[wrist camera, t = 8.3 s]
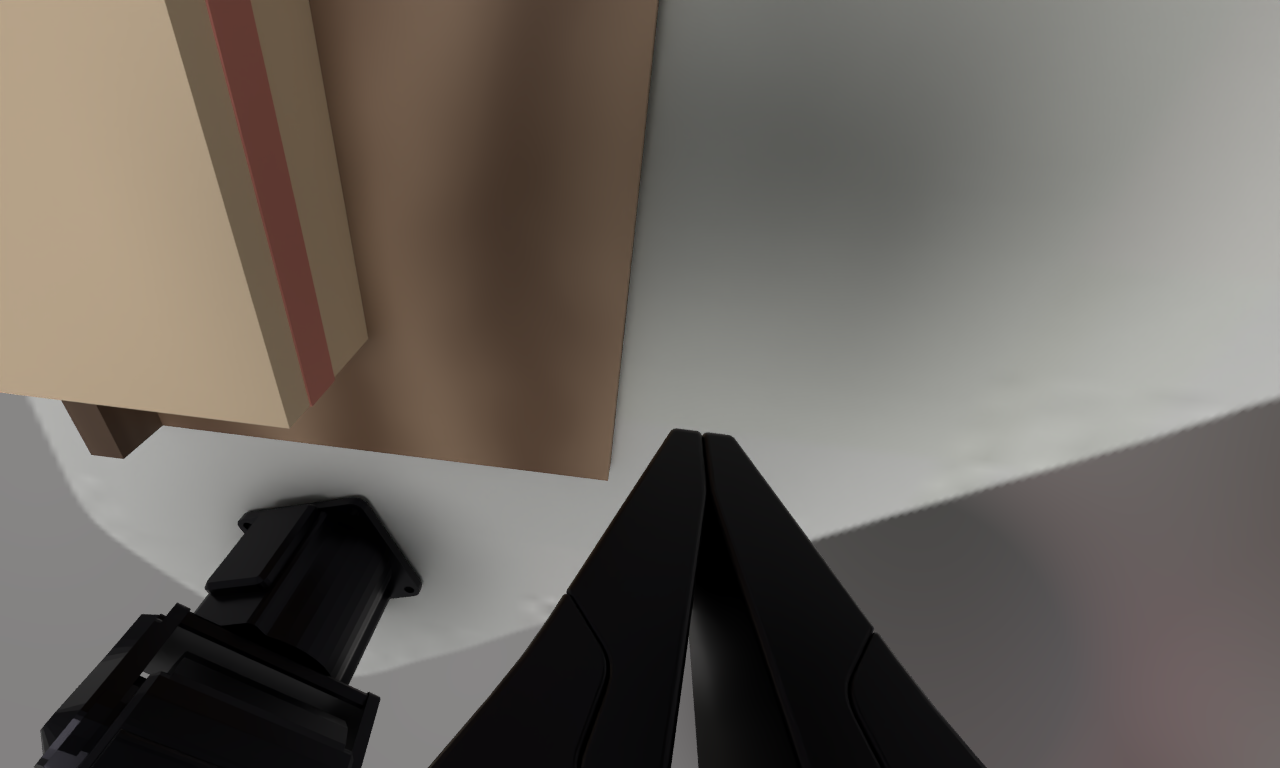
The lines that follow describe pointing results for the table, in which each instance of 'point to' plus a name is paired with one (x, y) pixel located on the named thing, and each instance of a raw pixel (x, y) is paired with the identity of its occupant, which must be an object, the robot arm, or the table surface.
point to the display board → (473, 231)
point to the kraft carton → (171, 209)
